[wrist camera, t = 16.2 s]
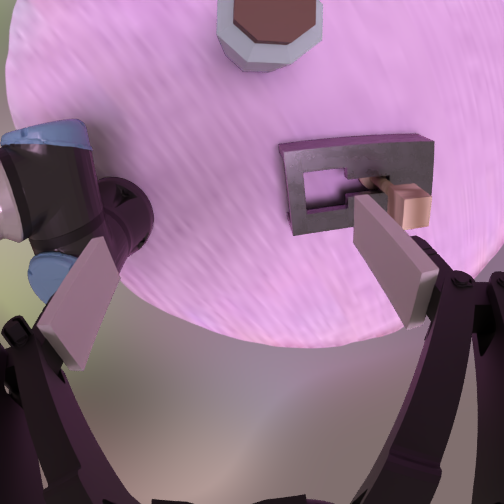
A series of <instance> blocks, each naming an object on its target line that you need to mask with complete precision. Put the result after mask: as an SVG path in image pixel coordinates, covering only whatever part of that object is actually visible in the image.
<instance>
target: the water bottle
mask: <svg viewBox="0 0 504 504" xmlns="http://www.w3.org/2000/svg"><path fill="white" fill-rule="evenodd" d="M322 27H323V4H322V3H321V2H320V1H319V0H218V3H217V31H216V34H217V37H218V39H219V41H220V44H221V46H222V48H223V51H224V53H225V55H226V56H227V57H228V58H229V59H230V60H231V61H232V62H234V63H235V64H236V65H237V66H238V67H239V68H240V69H241V70H242V71H246V72H271V71H273V70H276V69H279V68H282V67H284V66H287V65H290V64H292V63H293V62H294V61H296V60H297V59H298V58H300V57H301V56H302V55H303V54H305V53H306V52H307V51H309V50H310V49H311V48H312V47H314V46H315V45H316V44H318V43H319V42H321V41H322Z"/></svg>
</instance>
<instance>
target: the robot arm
mask: <svg viewBox="0 0 504 504" xmlns="http://www.w3.org/2000/svg"><path fill="white" fill-rule="evenodd" d="M0 144H1V146H2V148H0V240H1V239H5V238H6V239H9V240H12V241H15V242H18V243H20V242H22V241H23V240H25V239H27V238H29V241H30V244H31V246H32V249H33V251H34V254H35V256H34V257H33V258H32V259H31V261H30V265H29V269H28V279H29V283H30V285H31V287H32V289H33V291H34V292H35V294H36V295H37V296H38V297H39V298H40V299H41V300H42V301H43V302H44V303H45V304H46V306H45V307H44V308H43V310H42V312H41V314H40V315H39V317H38V319H37V321H36V323H35V324H34V326H33V328H32V329H31V328H30V327H29V325H28V324H27V322H26V321H25V319H24V318H23V317H22V316H20V315H19V316H15V317H13V318H11V319H10V320H9V321H8V322H7V323H6V324H5V325H4V327H3V329H2V332H1V334H2V335H3V337H4V338H5V340H6V341H7V342H8V343H9V345H10V346H11V347H9V348H6V349H4V347H3V346H2V345H1V343H0V504H140V503H139V502H138V501H137V500H136V499H135V498H134V497H132V496H131V495H130V494H129V492H128V491H127V490H126V488H125V487H124V485H123V484H122V482H121V481H120V479H119V478H118V476H117V475H116V473H115V472H114V470H113V468H112V467H111V465H110V464H109V462H108V460H107V459H106V457H105V455H104V453H103V452H102V450H101V448H100V446H99V445H98V443H97V441H96V439H95V437H94V435H93V434H92V432H91V430H90V428H89V426H88V424H87V422H86V420H85V418H84V416H83V414H82V412H81V409H80V407H79V405H78V403H77V401H76V399H75V396H74V394H73V392H72V389H71V387H70V385H69V382H68V380H67V377H66V375H65V373H64V371H63V370H62V369H61V366H62V364H63V362H64V363H65V365H66V366H67V367H68V368H69V369H70V370H73V371H83V370H84V368H85V365H86V362H87V359H88V357H89V354H90V351H91V349H92V346H93V343H94V341H95V338H96V335H97V333H98V330H99V328H100V325H101V323H102V320H103V318H104V315H105V313H106V310H107V308H108V305H109V303H110V301H111V299H112V296H113V294H114V292H115V289H116V287H117V285H118V283H119V280H120V275H119V273H120V271H121V269H122V267H123V265H124V263H125V261H126V259H127V257H129V256H130V255H132V254H133V253H135V252H136V251H138V250H139V249H140V248H141V247H142V246H143V245H144V244H145V243H146V241H147V239H148V237H149V235H150V233H151V231H152V228H153V222H154V217H153V210H152V207H151V204H150V202H149V200H148V198H147V197H146V195H145V194H144V193H143V191H142V190H141V189H140V188H139V187H137V186H136V185H135V184H133V183H131V182H130V181H127V180H125V179H122V178H117V177H108V178H103V179H100V180H98V181H97V176H96V172H95V167H94V162H93V156H92V151H93V149H92V147H91V146H90V142H89V138H88V133H87V128H86V126H85V124H84V123H83V122H82V121H80V120H78V119H66V120H59V121H53V122H48V123H43V124H38V125H34V126H30V127H28V128H23V129H19V130H15V131H11V132H8V133H6V134H4V135H3V136H2V138H1V142H0ZM353 243H354V245H355V246H356V248H357V249H358V251H359V252H360V254H361V255H362V257H363V258H364V260H365V262H366V263H367V265H368V266H369V268H370V269H371V271H372V273H373V274H374V276H375V277H376V279H377V281H378V282H379V284H380V285H381V287H382V289H383V290H384V292H385V294H386V295H387V297H388V299H389V300H390V302H391V304H392V305H393V307H394V309H395V311H396V312H397V314H398V316H399V317H400V319H401V321H402V323H403V324H404V326H405V328H406V330H409V329H413V328H416V327H419V326H422V325H423V323H424V320H425V317H426V314H427V316H428V317H429V319H430V321H431V323H430V326H429V328H428V331H427V334H426V336H425V339H424V340H425V342H424V346H423V349H422V352H421V355H420V358H419V362H418V365H417V368H416V370H415V373H414V376H413V379H412V382H411V384H410V387H409V390H408V392H407V395H406V397H405V400H404V402H403V405H402V407H401V410H400V412H399V414H398V417H397V419H396V421H395V424H394V426H393V428H392V430H391V432H390V434H389V436H388V439H387V441H386V443H385V445H384V447H383V449H382V451H381V453H380V455H379V457H378V459H377V460H376V462H375V464H374V466H373V468H372V470H371V471H370V473H369V475H368V477H367V478H366V480H365V481H364V483H363V485H362V486H361V487H360V489H359V490H358V492H357V494H356V495H355V497H354V498H353V500H352V501H351V503H350V504H430V502H431V500H432V498H433V496H434V493H435V491H436V489H437V487H438V484H439V481H440V478H441V474H442V470H441V468H440V462H441V459H442V457H443V454H444V451H445V448H446V445H447V442H448V439H449V436H450V433H451V430H452V426H453V423H454V420H455V416H456V412H457V409H458V405H459V401H460V397H461V392H462V388H463V383H464V379H465V374H466V368H467V362H468V357H469V351H470V344H471V337H472V341H473V349H474V358H475V368H476V381H477V401H478V437H477V457H476V468H475V478H474V486H473V495H472V504H504V272H501V271H500V272H494V273H492V275H491V277H490V279H489V282H475V280H474V279H473V278H472V277H471V276H470V275H469V274H467V273H465V272H462V271H457V270H455V271H453V270H452V269H451V268H450V266H449V265H448V264H447V263H446V262H445V261H444V260H443V259H442V258H441V257H440V255H439V254H437V252H436V251H435V250H434V249H432V247H431V246H430V245H429V244H428V243H427V242H426V241H425V240H423V239H422V238H420V237H418V236H409V235H408V234H407V233H406V232H405V231H404V229H403V228H402V227H401V226H400V225H399V224H398V223H397V222H396V221H395V220H394V219H393V218H392V217H391V216H390V215H389V214H388V213H387V212H386V211H385V210H384V209H383V208H382V207H381V206H380V205H379V204H378V203H377V202H376V201H375V200H374V199H372V198H371V197H370V196H369V195H368V194H365V195H357V196H354V236H353ZM4 385H5V386H6V387H7V388H8V389H9V394H8V393H7V392H6V390H5V387H4ZM38 459H39V461H40V464H41V467H42V470H43V472H44V475H45V477H46V480H47V482H48V487H47V488H45V489H44V490H43V485H42V479H41V474H40V467H39V461H38ZM152 504H193V503H189V502H181V501H167V500H156V499H152ZM253 504H334V503H330V502H326V501H321V500H313V499H306V495H305V494H304V495H298V496H291V497H284V498H276V499H267V500H263V501H260V502H257V503H253Z"/></svg>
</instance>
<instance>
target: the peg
mask: <svg viewBox="0 0 504 504" xmlns="http://www.w3.org/2000/svg"><path fill="white" fill-rule="evenodd" d="M358 179H359V181H360V182H361V183H362V184H363V185H364V186H365V187H366V188H367V189H370V190H377V189H379V188H380V189H381V190H382V191H383V192H384V193H385V194H386V195H388V205H387V213H388V214H389V215H390V216H391V217H392V218H393V219H394V220H395V221H396V222H397V223H398V224H399V225H400V226H401V227H402V228H403V229H404V230H408V229H414V228H421V227H427V226H429V219H430V211H431V202H432V196H431V195H429V194H428V193H427V192H425V191H424V190H423V189H421V188H420V187H419V186H417V185H416V184H415V183H412V184H401V185H394V184H392V183H391V182H390V181H388V180H387V179H386V176H377V177H367V178H358Z"/></svg>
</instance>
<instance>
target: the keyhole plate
mask: <svg viewBox="0 0 504 504" xmlns="http://www.w3.org/2000/svg"><path fill="white" fill-rule="evenodd" d="M278 145H279V153H280V155H281V156H282V158H283V160H284V168H285V176H286V184H287V193H288V202H289V210H290V212H287V217H288V222H289V225H290V228H291V231H292V234H293V236H296V235H303V234H309V233H316V232H322V231H329V230H335V229H342V228H348V227H354V196H357V195H365V194H368V195H369V196H370V197H371V198H372V199H374V200H375V201H376V202H377V203H378V204H379V205H380V206H381V207H382V208H383V209H384V210H385V211H386V212H387V205H388V195H386V194H385V193H384V192H383V191H382V190H372V191H364V192H356V193H347V194H345V204H342V205H335V206H327V207H320V208H313V209H306V200H305V189H304V178H303V173H304V172H311V171H320V170H328V169H337V168H344V175H345V177H346V178H347V179H357V178H367V177H377V176H386V179H387V180H388V181H390V182H391V183H392V184H394V185H401V184H412V183H415V184H416V185H417V186H419V187H420V188H421V189H423V190H424V191H425V192H427V193H428V194H429V195H431V193H432V181H433V166H434V141H433V140H430V139H428V138H426V137H423V136H421V135H419V134H387V135H367V136H351V137H339V138H327V139H317V140H308V141H299V142H291V143H283V144H278Z"/></svg>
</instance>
